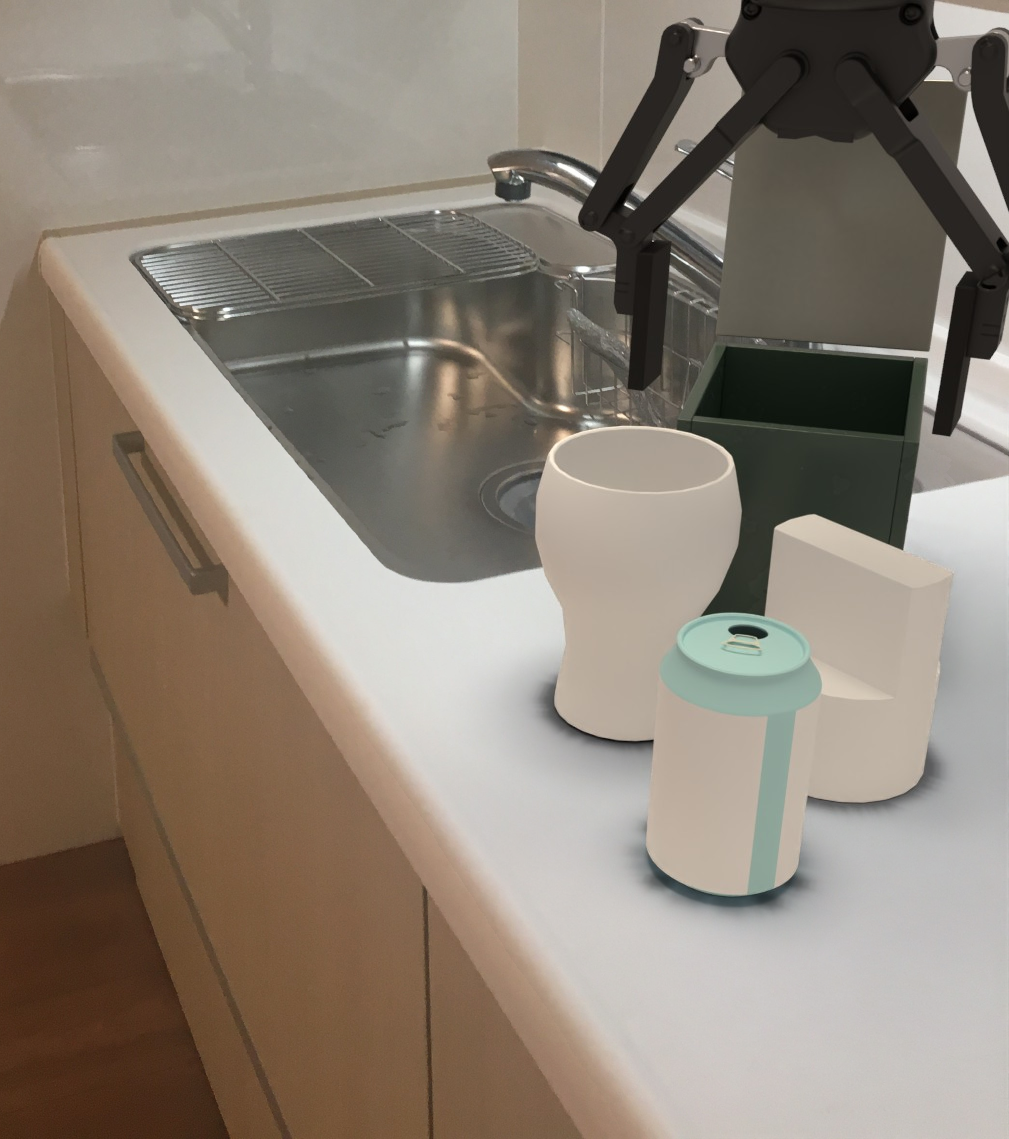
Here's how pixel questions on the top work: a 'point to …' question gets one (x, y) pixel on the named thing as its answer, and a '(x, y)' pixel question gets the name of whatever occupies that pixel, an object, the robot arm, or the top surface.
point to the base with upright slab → (862, 652)
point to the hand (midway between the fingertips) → (788, 403)
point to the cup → (631, 562)
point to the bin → (808, 446)
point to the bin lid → (835, 238)
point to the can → (732, 754)
